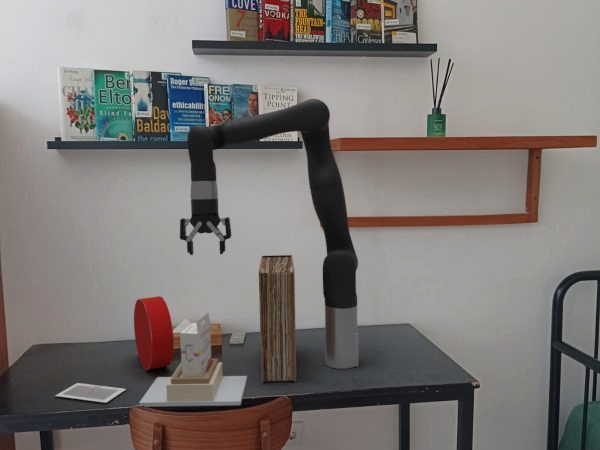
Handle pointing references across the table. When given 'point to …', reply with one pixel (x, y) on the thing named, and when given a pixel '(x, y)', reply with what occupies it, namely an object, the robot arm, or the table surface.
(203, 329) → the ink cartridge box
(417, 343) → the table surface
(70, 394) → the touchpad
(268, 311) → the book
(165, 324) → the toy clock
